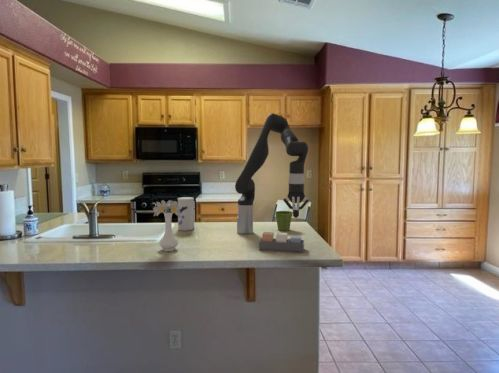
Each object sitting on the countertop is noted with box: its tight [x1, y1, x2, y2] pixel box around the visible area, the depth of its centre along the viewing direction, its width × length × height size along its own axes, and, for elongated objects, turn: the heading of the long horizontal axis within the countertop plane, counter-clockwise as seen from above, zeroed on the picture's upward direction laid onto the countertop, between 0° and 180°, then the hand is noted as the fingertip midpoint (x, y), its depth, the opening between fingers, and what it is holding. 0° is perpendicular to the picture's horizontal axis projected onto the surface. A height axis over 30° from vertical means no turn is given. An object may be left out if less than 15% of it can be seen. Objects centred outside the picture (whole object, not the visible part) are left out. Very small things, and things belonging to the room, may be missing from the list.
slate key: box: [290, 235, 302, 243], centre depth 180 cm, size 5×5×4 cm
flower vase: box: [152, 199, 182, 252], centre depth 181 cm, size 13×18×25 cm
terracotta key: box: [261, 231, 275, 242], centre depth 182 cm, size 5×5×4 cm
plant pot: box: [274, 210, 293, 232], centre depth 226 cm, size 12×12×11 cm
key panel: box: [258, 237, 305, 254], centre depth 181 cm, size 22×8×4 cm, turn 78°
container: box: [177, 196, 195, 232], centre depth 229 cm, size 10×10×20 cm
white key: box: [275, 232, 288, 243], centre depth 181 cm, size 5×5×4 cm
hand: (295, 217), depth 178 cm, fingers closed
